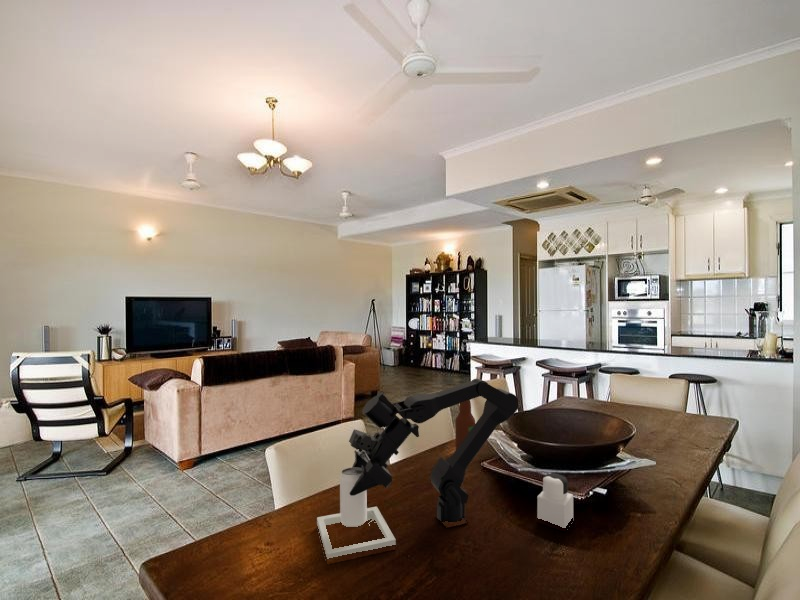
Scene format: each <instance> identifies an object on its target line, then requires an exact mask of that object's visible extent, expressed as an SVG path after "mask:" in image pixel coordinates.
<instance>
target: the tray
mask: <svg viewBox="0 0 800 600" xmlns="http://www.w3.org/2000/svg"><path fill="white" fill-rule="evenodd" d="M370 519H372V520H371V521H370V522H372V521H374V520H375V521H376V522H374V523H377V525H378V527H379V529H380V530H381V532H382V534H383V535H384V537H385V538H382V539H377V540H372V541H368V542H363V543H358V544H353V545H349V546H344V547H339V548H334V549H332V545H331V542H330V539H329V535H328V532H327V529H326V525H331V524H335V523H340V512H339V513H333V514H328V515H322V516H318V517H316V525H317V526H318V529H319V532H318V534H319V533H320V536H321V540H322V543H323V547H324V550H325V554H326V557H327V559H329V558H333V557H338V556H342V555H347V554H352V553H356V552H362V551H368V550H373V549H378V548H382V547H386V546H392V545H396V546H397V542H396V541H397V540H396V538H395V536H394V534H393V533H392V531H391V529H390V528H389V526H388V524H387V521H386V520H385V518H384V516H383V515H382V513H381V511H380V509H379V508H378V506H372V507H367V521H368V520H370ZM370 522H369V523H370ZM369 523H368V524H369ZM317 526H316V527H317ZM369 526H370V524H369ZM318 529H317V530H318ZM320 536H319V537H320ZM321 540H320V541H321Z"/></svg>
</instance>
